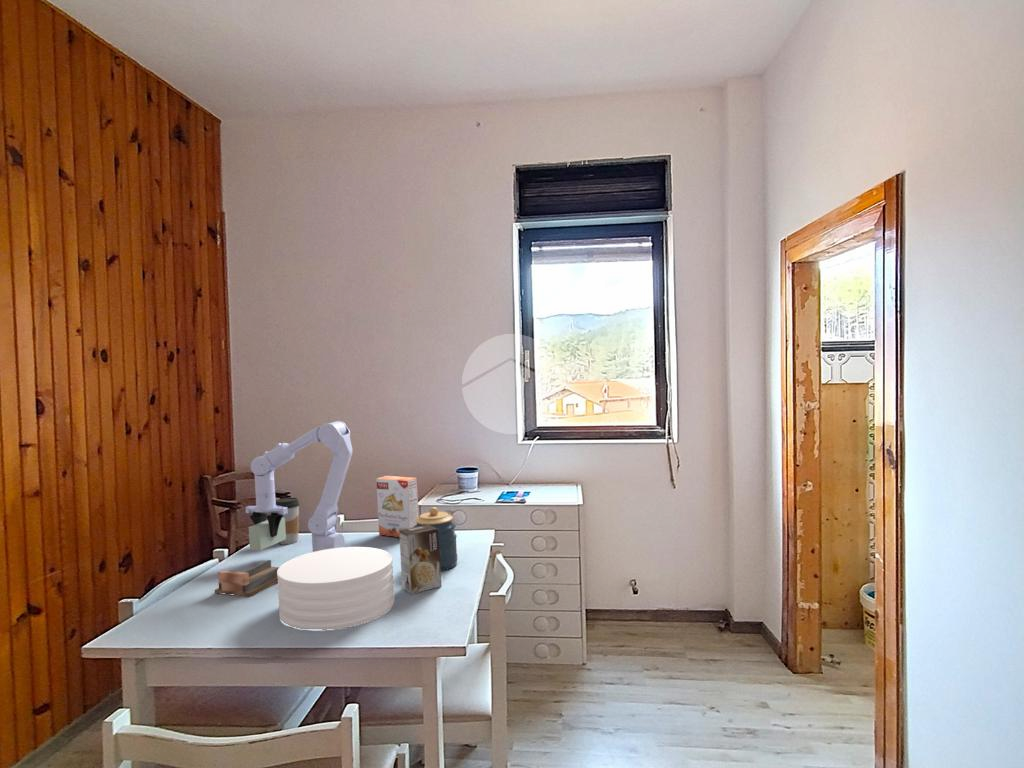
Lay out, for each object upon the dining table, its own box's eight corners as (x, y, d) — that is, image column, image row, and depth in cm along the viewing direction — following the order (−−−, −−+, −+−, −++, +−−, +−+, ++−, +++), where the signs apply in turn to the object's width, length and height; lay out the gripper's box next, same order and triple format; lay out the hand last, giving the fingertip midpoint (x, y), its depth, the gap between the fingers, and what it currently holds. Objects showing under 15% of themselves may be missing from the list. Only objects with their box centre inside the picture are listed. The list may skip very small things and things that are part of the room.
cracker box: (378, 536, 222) (375, 478, 221) (389, 531, 227) (386, 475, 227) (409, 540, 216) (407, 480, 215) (420, 535, 221) (417, 476, 220)
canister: (407, 571, 183) (404, 512, 182) (424, 557, 195) (421, 501, 195) (449, 573, 180) (446, 512, 179) (463, 559, 192) (461, 502, 192)
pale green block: (286, 539, 203) (284, 517, 202) (260, 550, 191) (259, 527, 191) (275, 538, 204) (274, 517, 204) (249, 549, 193) (248, 527, 192)
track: (297, 572, 186) (296, 552, 186) (250, 596, 167) (249, 574, 167) (264, 569, 190) (263, 550, 190) (214, 593, 171) (213, 571, 171)
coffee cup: (296, 545, 215) (293, 502, 215) (272, 545, 215) (270, 502, 215) (304, 538, 223) (302, 496, 223) (281, 538, 224) (279, 497, 223)
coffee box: (431, 580, 174) (429, 523, 174) (442, 586, 169) (439, 528, 168) (401, 588, 169) (398, 529, 169) (411, 595, 164) (408, 534, 163)
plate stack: (279, 598, 166) (277, 556, 165) (384, 581, 176) (383, 541, 175) (279, 641, 140) (276, 590, 139) (403, 618, 149) (401, 571, 149)
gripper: (237, 495, 195) (240, 538, 196) (276, 496, 191) (278, 540, 192) (253, 490, 202) (255, 532, 203) (290, 492, 198) (293, 534, 198)
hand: (267, 535), depth 198 cm, fingers closed on pale green block, 4 cm apart
